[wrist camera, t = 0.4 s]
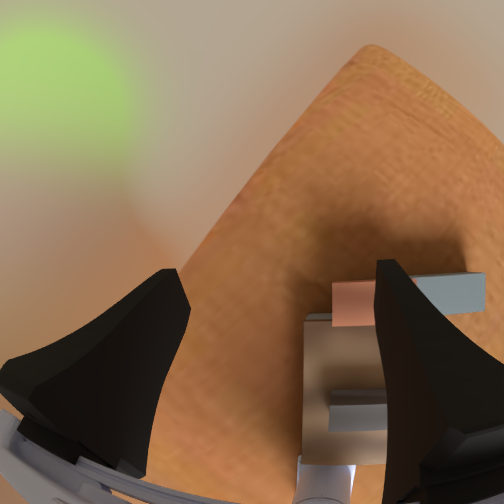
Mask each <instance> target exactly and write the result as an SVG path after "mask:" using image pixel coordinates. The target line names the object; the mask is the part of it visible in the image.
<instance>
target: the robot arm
mask: <svg viewBox="0 0 504 504" xmlns="http://www.w3.org/2000/svg"><path fill="white" fill-rule="evenodd" d="M373 307H374V318H375V329H376V335H377V340H378V346H379V351H380V356H381V362H382V367H383V373H384V379H385V385H386V394H387V456H386V471H385V481H384V491H383V498H382V504H504V364H503V363H501V362H500V361H498V360H497V359H495V358H494V357H492V356H491V355H489V354H488V353H487V352H485V351H484V350H483V349H482V348H480V347H479V346H478V345H476V344H475V343H474V342H473V341H471V340H470V339H469V338H468V337H467V336H465V335H464V334H463V333H462V332H461V331H460V330H459V329H458V328H456V327H455V326H454V325H453V324H452V323H451V322H450V321H449V320H448V319H447V318H446V317H445V316H444V315H443V314H442V313H441V312H440V311H439V310H438V309H437V308H436V307H435V306H434V305H433V304H432V303H431V301H430V300H429V299H428V298H427V297H426V296H425V295H424V293H423V292H422V291H421V290H420V289H419V288H418V287H417V285H416V284H415V283H414V282H413V281H412V279H411V278H410V277H409V276H408V275H407V273H406V272H405V271H404V270H403V268H402V267H401V266H400V265H399V264H398V262H397V261H396V260H395V259H388V260H377V269H376V283H375V294H374V305H373ZM190 312H191V307H190V305H189V302H188V300H187V297H186V294H185V292H184V289H183V287H182V284H181V281H180V279H179V276H178V273H177V271H176V269H161V270H160V271H158V272H156V273H155V274H153V275H152V276H151V277H149V278H148V279H147V280H146V281H144V282H143V283H142V284H140V285H139V286H138V287H136V288H135V289H134V290H133V291H131V292H130V293H129V294H128V295H126V296H125V297H124V298H123V299H121V300H120V301H119V302H117V303H116V304H114V305H113V306H112V307H111V308H109V309H108V310H107V311H105V312H104V313H103V314H101V315H100V316H99V317H97V318H96V319H94V320H92V321H91V322H89V323H88V324H86V325H85V326H83V327H82V328H80V329H78V330H76V331H75V332H73V333H71V334H69V335H67V336H66V337H64V338H62V339H60V340H58V341H56V342H54V343H52V344H50V345H48V346H45V347H43V348H41V349H38V350H36V351H33V352H31V353H28V354H25V355H22V356H19V357H16V358H13V359H9V360H8V361H7V362H6V363H5V364H4V365H3V367H2V368H1V369H0V393H1V394H2V395H3V396H4V397H5V399H7V400H8V401H9V402H10V403H11V404H12V405H13V406H14V407H15V408H16V409H17V410H18V411H19V412H20V413H21V414H22V415H24V417H23V419H22V421H21V420H19V419H18V418H17V417H15V416H14V415H12V414H11V413H9V412H8V411H6V410H5V409H1V411H0V473H1V475H3V477H4V478H5V479H6V480H7V481H8V482H9V483H10V484H11V485H12V486H13V488H14V489H15V490H16V491H17V492H18V493H19V494H20V495H22V497H23V498H24V499H25V500H26V501H27V502H28V503H29V504H131V503H130V502H128V501H126V500H123V499H121V498H119V497H117V496H114V495H112V492H111V490H110V489H112V490H114V491H117V492H119V493H122V494H124V495H127V496H129V497H132V498H135V499H137V500H140V501H143V502H146V503H149V504H239V503H233V502H227V501H221V500H216V499H211V498H206V497H201V496H197V495H192V494H188V493H184V492H180V491H176V490H173V489H169V488H165V487H162V486H159V485H155V484H152V483H149V482H146V481H143V480H139V479H141V478H143V477H144V476H145V475H146V466H147V457H148V448H149V442H150V436H151V430H152V425H153V421H154V416H155V412H156V408H157V404H158V400H159V397H160V393H161V390H162V386H163V384H164V381H165V378H166V376H167V373H168V371H169V369H170V366H171V364H172V362H173V359H174V357H175V355H176V352H177V350H178V348H179V345H180V343H181V340H182V338H183V336H184V333H185V330H186V327H187V323H188V320H189V316H190ZM300 460H301V455H300V456H299V457H298V468H297V487H296V492H295V495H294V498H293V502H292V504H350V496H351V491H352V486H353V480H354V475H355V469H356V465H304V464H301V461H300ZM109 488H110V489H109Z"/></svg>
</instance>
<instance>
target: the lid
mask: <svg viewBox="0 0 504 504" xmlns="http://www.w3.org/2000/svg"><path fill="white" fill-rule="evenodd" d="M364 280H376V279H364ZM352 281H361V280H352ZM386 456H387V394H386V385H385V379H384V373H383V367H382V362H381V356H380V351H379V346H378V340H377V335H376V329H375V325H366V326H335V327H332V319H314V320H304V379H303V425H302V451H301V464H304V465H371V464H386Z"/></svg>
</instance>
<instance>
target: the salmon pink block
mask: <svg viewBox="0 0 504 504" xmlns="http://www.w3.org/2000/svg"><path fill="white" fill-rule="evenodd" d="M411 279H412V281H413V282H414V283H415V284H416V285H417V279H413V278H411ZM375 283H376V280H361V281H335V282H332V327H335V326H366V325H375V318H374V307H373V305H374V294H375Z"/></svg>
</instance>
